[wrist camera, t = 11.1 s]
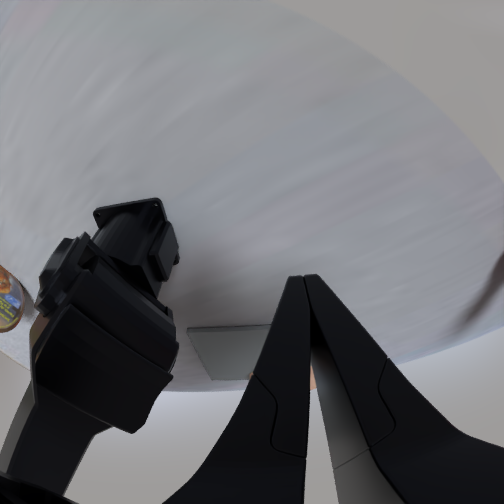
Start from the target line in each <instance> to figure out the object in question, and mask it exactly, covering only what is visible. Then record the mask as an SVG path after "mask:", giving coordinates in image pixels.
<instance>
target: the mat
mask: <svg viewBox="0 0 504 504" xmlns="http://www.w3.org/2000/svg"><path fill="white" fill-rule="evenodd" d="M270 326H271V325H260V326H243V327H222V328H188V329H187V334H188V336H189V338H190V340H191V342H192V344H193V346H194V348H195V350H196V352H197V354H198V356H199V358H200V360H201V362H202V363H203V365H204V367H205V369H206V371H207V373H208V375H209V377H210V378H211V380H250V373H251V372H253V371H254V368H255V366H256V363H257V360H258V358H259V355H260V353H261V350H262V347H263V345H264V342H265V340H266V337H267V334H268V332H269V329H270ZM311 366H312V365H311Z"/></svg>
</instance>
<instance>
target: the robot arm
mask: <svg viewBox="0 0 504 504" xmlns="http://www.w3.org/2000/svg"><path fill="white" fill-rule="evenodd" d="M153 203H156V204H157V205H158V206H155V205H154V204H153ZM98 213H99V214H100V215H99V214H98ZM93 216H94V218H95V221H96V223H97V225H98V228H99V229H98V230H97V232H96V233H95V235H94V236H93V238H92V239H90V236H89V235H88V234H87V233H86V232H84V233H83V234H82V235H81V236H80V237H76V238H75V239H69V238H64V239H63V240H62V241H61V243H60V244H59V245H58V247H57V248H56V249H55V251H54V252H53V254H52V255H51V257H50V258H49V260H48V261H47V263H46V265H45V267H44V268H43V270H42V272H41V274H40V276H39V283H40V289H39V292H38V296H37V299H36V302H35V305H34V308H35V309H36V310H38V311H39V312H40V313H39V315H38V316H37V318H36V320H35V322H34V323H33V325H32V327H31V329H30V334H29V343H30V370H31V381H30V384H29V386H28V388H27V390H26V392H25V395H24V397H23V399H22V401H21V403H20V405H19V407H18V410H17V412H16V414H15V417H14V419H13V421H12V424H11V426H10V429H9V431H8V434H7V437H6V439H5V442H4V445H3V447H2V450H1V453H0V504H78V503H76V502H74V501H72V500H70V499H67V498H65V497H63V496H64V494H65V492H66V490H67V488H68V486H69V484H70V482H71V480H72V478H73V476H74V474H75V471H76V470H77V468H78V466H79V464H80V462H81V460H82V458H83V456H84V454H85V452H86V450H87V448H88V446H89V444H90V443H91V441H92V439H93V438H94V436H95V435H97V434H99V433H101V432H103V431H105V430H107V429H109V428H112V427H116V428H118V429H120V430H123V431H125V432H128V433H130V434H133V433H135V432H136V431H137V430H138V429H140V428H141V427H142V426H143V425H144V424H145V422H146V420H147V418H148V415H149V413H150V411H151V408H152V406H153V404H154V402H155V400H156V398H157V397H158V395H159V394H160V393H161V391H162V390H163V389H164V388H165V387H166V386H167V385H168V383H169V382H170V381H171V380H172V379H173V375H172V374H170V372H171V370H172V368H173V366H174V364H175V361H176V357H177V354H178V350H179V343H178V342H177V341H176V327H175V325H174V322H173V314H172V310H171V309H169V308H168V307H167V306H166V307H165V306H164V305H163V304H161V303H160V302H159V301H158V300H157V298H158V294H159V291H160V288H161V285H162V282H167V280H168V279H169V276H170V273H171V269H172V266H173V265H176V264H178V263H179V260H180V257H179V254H178V251H177V250H178V244H177V240H176V237H175V234H174V231H173V228H172V225H171V223H170V222H169V221H168V220H167V217H166V214H165V210H164V207H163V204H162V201H161V200H160V199H159V198H150V199H144V200H138V201H132V202H126V203H121V204H115V205H110V206H104V207H99V208H96V210H95V211H94V212H93ZM387 357H388V356H387V355H386V353H385V352H384V351H383V350H382V349H381V347H380V346H379V345H378V344H377V343H376V341H375V340H374V339H373V338H372V337H371V335H370V334H369V333H368V332H367V331H366V329H365V328H364V327H363V326H362V325H361V324H360V322H359V321H358V320H357V319H356V318H355V316H354V315H353V314H352V313H351V312H350V311H349V309H348V308H347V307H346V306H345V305H344V304H343V303H342V301H341V300H340V299H339V298H338V297H337V296H336V294H335V293H334V292H333V291H332V290H331V289H330V288H329V286H328V285H327V284H326V283H325V282H324V281H323V280H322V279H321V277H320V276H319V275H317V274H309V275H304V276H301V275H298V276H289V277H288V279H287V282H286V285H285V288H284V290H283V293H282V296H281V299H280V302H279V304H278V307H277V310H276V313H275V315H274V318H273V321H272V324H271V326H270V329H269V332H268V334H267V337H266V340H265V342H264V345H263V347H262V350H261V353H260V355H259V358H258V360H257V363H256V366H255V368H254V371H253V375H251V378H250V380H249V383H248V385H247V388H246V390H245V392H244V394H243V396H242V399H241V401H240V403H239V405H238V407H237V409H236V411H235V413H234V414H233V416H232V418H231V420H230V421H229V423H228V425H227V426H226V428H225V430H224V431H223V433H222V434H221V436H220V438H219V439H218V441H217V443H216V444H215V445H214V447H213V449H212V450H211V452H210V453H209V455H208V456H207V458H206V459H205V461H204V462H203V464H202V465H201V466H200V468H199V469H198V470H197V471H196V473H195V474H194V475H193V476H192V477H191V478H190V479H189V481H188V482H187V483H185V484H184V485H183V486H182V487H181V488H180V489H179V490H178V491H176V492H175V493H174V494H173V495H172V496H171V497H169V498H168V499H167V500H166V501H165V502H163V503H162V504H304V491H305V471H306V457H307V445H308V428H309V407H310V375H311V365H312V369H313V373H314V378H315V383H316V387H317V392H318V396H319V401H320V406H321V411H322V416H323V421H324V425H325V430H326V435H327V440H328V446H329V451H330V456H331V462H332V467H333V473H334V478H335V484H336V490H337V495H338V502H339V504H504V448H503V447H500V446H497V445H494V444H491V443H488V442H485V441H482V440H480V439H477V438H474V437H471V436H469V435H467V434H465V433H463V432H461V431H460V430H458V429H457V428H456V427H454V426H453V425H452V424H451V423H450V422H449V421H448V420H447V419H446V418H445V417H444V416H443V415H442V414H441V413H440V412H439V411H438V410H437V409H436V408H435V407H434V406H433V405H432V404H431V403H430V402H429V401H428V400H427V399H426V398H425V397H424V396H423V395H422V394H421V393H420V392H419V391H418V390H417V389H416V388H415V387H414V386H413V385H412V384H411V383H410V382H409V381H408V380H407V379H406V377H405V376H404V375H403V374H402V373H401V372H400V370H399V369H398V368H397V367H396V366H395V364H394V363H393V362H392V361H391V359H390V358H387Z"/></svg>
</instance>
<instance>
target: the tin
mask: <svg viewBox="0 0 504 504" xmlns="http://www.w3.org/2000/svg"><path fill="white" fill-rule="evenodd" d="M24 304H25V299H24V292H23V289H22V287H21V285H20V283H19V281H18V280H17V279H16V278H15V277H14V276H13V275H12V274H11V273H9V272H8V271H7V270H6V269H4V268H3V267H2V266H1V265H0V333H4V332H8V331H10V330H12V329H13V328H15V327H16V326H17V324H18V323H19V321H20V319H21V317H22V314H23V310H24Z"/></svg>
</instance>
